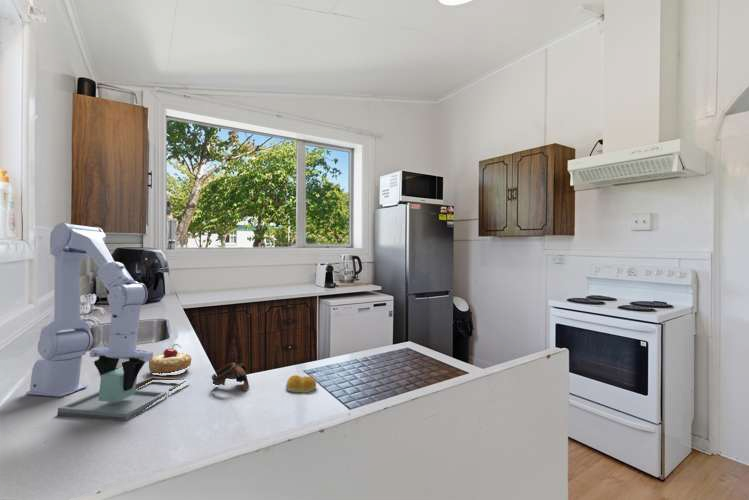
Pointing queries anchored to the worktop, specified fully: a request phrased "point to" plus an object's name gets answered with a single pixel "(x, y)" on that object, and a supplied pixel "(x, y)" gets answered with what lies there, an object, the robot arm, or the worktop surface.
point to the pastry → (169, 361)
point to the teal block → (114, 386)
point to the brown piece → (232, 374)
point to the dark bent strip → (158, 379)
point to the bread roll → (300, 384)
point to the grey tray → (111, 406)
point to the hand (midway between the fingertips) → (117, 388)
